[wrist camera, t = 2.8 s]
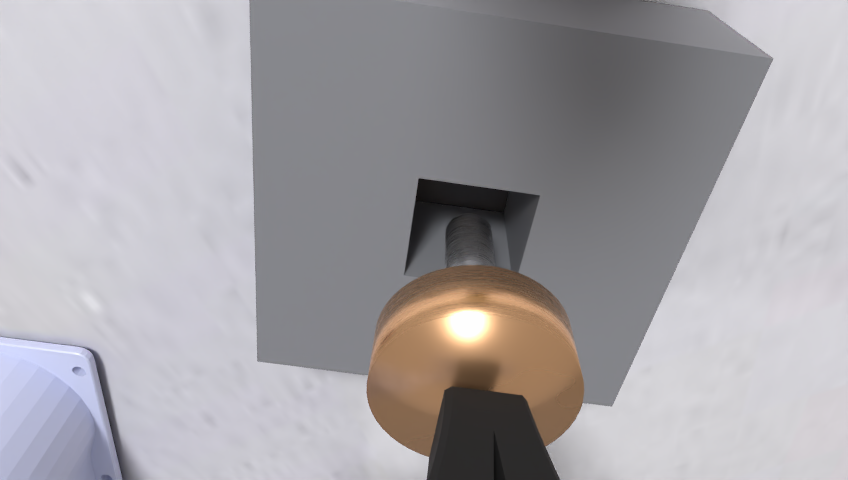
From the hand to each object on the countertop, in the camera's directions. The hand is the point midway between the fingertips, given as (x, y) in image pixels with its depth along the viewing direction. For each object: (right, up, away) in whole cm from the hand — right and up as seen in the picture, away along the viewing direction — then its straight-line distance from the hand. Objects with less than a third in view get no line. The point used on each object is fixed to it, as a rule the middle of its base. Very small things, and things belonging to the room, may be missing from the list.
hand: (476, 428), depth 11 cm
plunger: (0, +4, +5) cm, 6 cm away
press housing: (0, +6, +8) cm, 10 cm away
